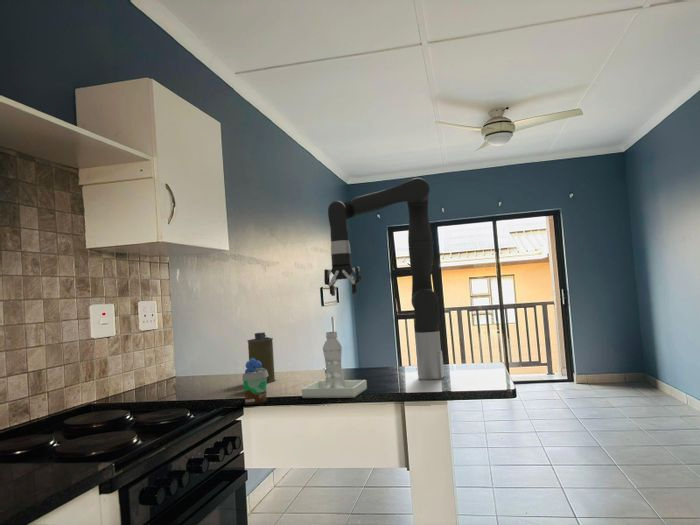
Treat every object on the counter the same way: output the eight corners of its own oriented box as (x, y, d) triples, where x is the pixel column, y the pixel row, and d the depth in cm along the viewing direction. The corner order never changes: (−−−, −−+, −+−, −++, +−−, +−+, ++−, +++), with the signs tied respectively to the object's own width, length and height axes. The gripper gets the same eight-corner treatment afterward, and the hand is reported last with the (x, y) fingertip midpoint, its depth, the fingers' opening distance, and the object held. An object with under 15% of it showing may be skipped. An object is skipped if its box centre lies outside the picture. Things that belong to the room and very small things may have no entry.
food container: (261, 405, 163) (260, 373, 164) (243, 405, 164) (241, 374, 165) (275, 397, 175) (273, 367, 176) (258, 397, 176) (256, 368, 177)
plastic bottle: (348, 390, 174) (344, 331, 175) (331, 394, 170) (327, 333, 172) (338, 388, 179) (335, 331, 181) (322, 391, 176) (318, 332, 177)
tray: (367, 388, 179) (366, 379, 179) (353, 397, 165) (353, 388, 165) (319, 389, 185) (318, 380, 185) (302, 397, 170) (301, 388, 171)
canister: (267, 383, 205) (265, 333, 206) (244, 384, 208) (242, 334, 209) (280, 379, 215) (277, 331, 216) (258, 379, 218) (255, 332, 220)
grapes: (237, 391, 192) (235, 359, 193) (252, 388, 197) (250, 356, 198) (256, 393, 184) (254, 360, 185) (271, 390, 189) (269, 357, 190)
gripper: (320, 254, 198) (322, 296, 197) (355, 250, 193) (358, 293, 192) (327, 255, 205) (329, 296, 204) (361, 252, 200) (364, 293, 199)
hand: (343, 295), depth 198 cm, fingers open, 8 cm apart
